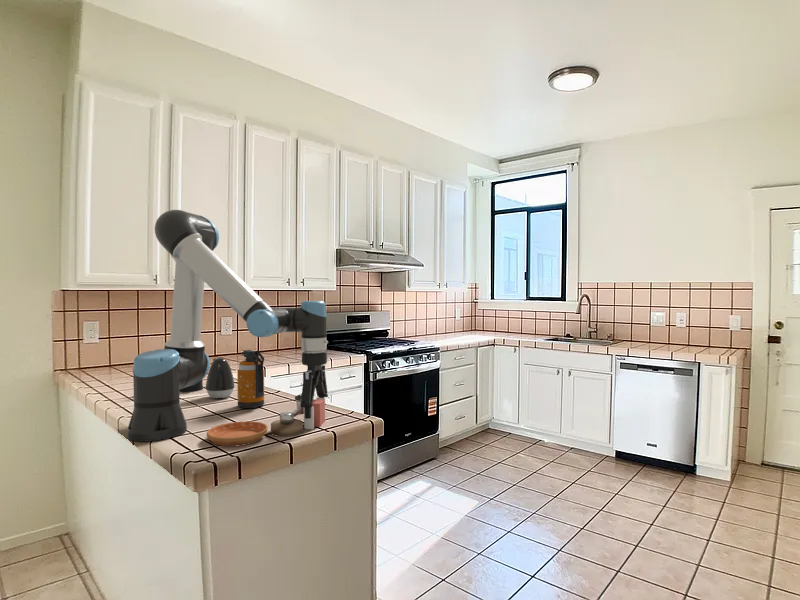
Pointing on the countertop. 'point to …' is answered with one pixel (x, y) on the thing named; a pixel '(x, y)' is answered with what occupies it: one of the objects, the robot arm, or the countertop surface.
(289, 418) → the crank
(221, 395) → the black rounded egg shape
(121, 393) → the countertop surface
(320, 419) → the block
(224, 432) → the saucer
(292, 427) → the hub plate
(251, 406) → the canister
